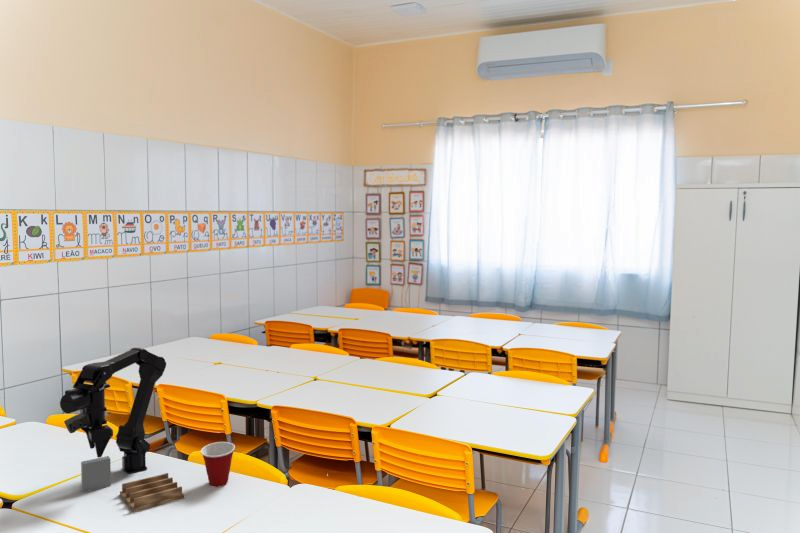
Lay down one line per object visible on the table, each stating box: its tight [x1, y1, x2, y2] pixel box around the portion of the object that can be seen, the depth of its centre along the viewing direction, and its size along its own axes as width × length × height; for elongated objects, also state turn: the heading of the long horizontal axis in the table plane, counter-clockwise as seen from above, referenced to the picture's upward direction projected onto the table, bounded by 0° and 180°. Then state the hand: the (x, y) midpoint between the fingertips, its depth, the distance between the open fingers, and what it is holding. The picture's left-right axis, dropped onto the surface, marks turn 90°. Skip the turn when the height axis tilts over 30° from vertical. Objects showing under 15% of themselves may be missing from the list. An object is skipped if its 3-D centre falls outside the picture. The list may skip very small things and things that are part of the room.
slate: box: [80, 455, 112, 493], centre depth 198 cm, size 8×2×9 cm, turn 129°
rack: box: [119, 472, 185, 513], centre depth 193 cm, size 15×14×4 cm
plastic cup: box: [200, 441, 236, 488], centre depth 203 cm, size 11×11×12 cm
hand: (95, 452), depth 198 cm, fingers open, 9 cm apart
